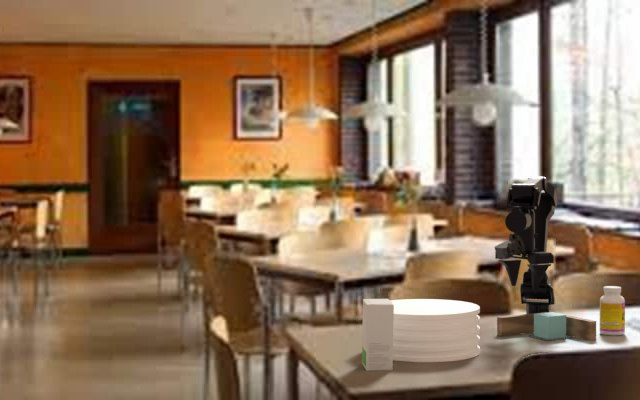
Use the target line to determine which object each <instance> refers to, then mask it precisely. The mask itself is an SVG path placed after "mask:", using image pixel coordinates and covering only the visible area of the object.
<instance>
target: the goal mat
mask: <svg viewBox="0 0 640 400" xmlns="http://www.w3.org/2000/svg"><path fill="white" fill-rule="evenodd" d="M528 337H529V338H534V339H537V340H542V341H546V342H551V341H559V340H560V341H561V340H570V339H572V336H568V335H566V337H565V338H556V339H545V338H540V337H536V336H534V334H533V335H528Z"/></svg>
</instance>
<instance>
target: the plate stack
mask: <svg viewBox="0 0 640 400" xmlns="http://www.w3.org/2000/svg"><path fill="white" fill-rule="evenodd" d="M389 300H390V301H392V304H393V305H394V321H393V361H396V362H397V361H399V362H412V363H440V362H441V363H442V362H454V361H455V362H456V361H463V360H467V359H468V360H469V359H472V358H475V357H476V356H477V357H478V355H480V354H481V347H480V346H479V345H480V343H481V337H480V333H481V329H480V328H481V326H480V325H479V324H480V323H481V317H480V315H479V314H480V313H481V307H480V305H478V304H476V303H473V302H468V301H462V300H455V299H454V300H453V299H442V298H441V299H439V298H438V299H437V298H436V299H435V298H406V299H405V298H403V299H393V300H391V299H389Z"/></svg>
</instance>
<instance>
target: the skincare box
mask: <svg viewBox="0 0 640 400" xmlns="http://www.w3.org/2000/svg"><path fill="white" fill-rule="evenodd" d="M390 300H391V299H389V298H363V299H362V328H361V329H362V330H361V331H362V332H361V333H362V337H361V339H362V340H361V341H362V342H361V343H362V344H361V364H362V366H363V368H364V369H365V371H366V372H374V371H375V372H376V371H377V372H380V371H383V372H384V371H393V366H394V365H393V363H394V360H393V321H394V305H393V304H392V301H390Z"/></svg>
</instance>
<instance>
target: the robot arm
mask: <svg viewBox="0 0 640 400" xmlns="http://www.w3.org/2000/svg"><path fill="white" fill-rule="evenodd" d="M507 194H508V195H507V200H506V206H505V207H506V210H511V211H510V212H509V213H508V214H507V215H506V217H505V219H504V223H505V226H506V228H507V230H508V231H510V232H511V233H510V234H509V235H508V240H505V241H503V242H501V243H499V244H497V245H495V246H494V250H495V252H494V253H495V254H494V255H495V259H496V260H497V261H498V263H501V264H502V265H503V266H504V267H505V270H506V273H507V275H508V278H509V281H510V284H511V286H512V287H516V285H517V282H518V279H519V278H518V277H519V274H520V268H521V264H522V260H527V262H528V263H529V264H527V263H526V265H527V268H528V269H527V271H524V273H523V275H522V282H520V283H521V284H520V291H519V292H520V303H521V304H522V305H523V304H524V305H525V304H526V305H525V306H526V307H525V309H526V311H525V312H526V313H525V314H533V313H543V312H550V309H549V307H550V306H552V305H555V304H556V301H555V300H556V299H555V292H554V291H555V290H554V288H553V287H552V286H553V285H552V283H551V279H550V277H549V274H548V273H547V270H548V268H549V267H551V266H552V264H555V255H554V254H553V252H548V251H547V250H548V249H547V245H548V235H549V234H548V233H549V232H548V231H549V221H550V220H551V219H552V217H553V216H554V215H555V209H556V207H557V206H558V195H557V194H558V193H557V190H556V187H554V186H553V185H552V184H551V183H550V182H548V179H547V177H545V176H544V175H542V176H540V175H536V176H533V175H531V176H528V177H527V180H526V181H524V182H522V183H512V184H511V187H509V189H508V193H507Z"/></svg>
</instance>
